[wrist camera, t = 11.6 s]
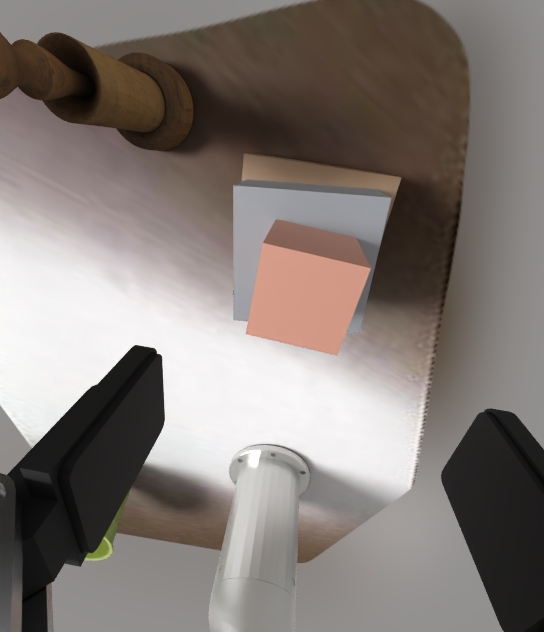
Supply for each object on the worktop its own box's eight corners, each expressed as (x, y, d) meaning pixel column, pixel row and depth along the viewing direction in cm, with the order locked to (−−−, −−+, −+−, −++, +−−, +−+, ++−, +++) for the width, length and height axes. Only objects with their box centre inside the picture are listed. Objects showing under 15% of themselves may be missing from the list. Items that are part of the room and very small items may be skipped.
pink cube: (331, 308, 23) (337, 355, 18) (261, 292, 23) (245, 333, 18) (356, 237, 20) (371, 268, 15) (275, 219, 20) (262, 242, 15)
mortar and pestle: (171, 43, 24) (-91, -161, 8) (206, 133, 27) (58, 107, 11) (104, 80, 26) (-220, -31, 10) (144, 161, 28) (-63, 174, 13)
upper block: (351, 305, 28) (359, 333, 24) (245, 294, 29) (233, 319, 24) (376, 189, 23) (391, 197, 19) (247, 179, 24) (233, 185, 20)
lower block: (351, 294, 33) (358, 316, 29) (243, 276, 33) (233, 295, 29) (386, 173, 27) (401, 177, 23) (254, 153, 27) (243, 153, 23)
